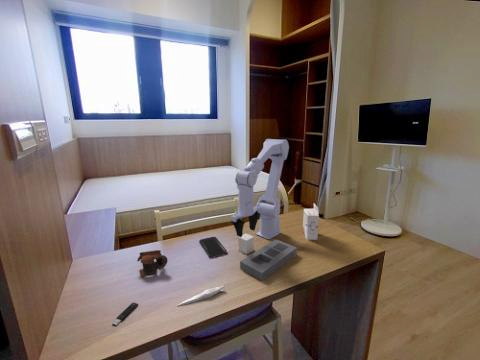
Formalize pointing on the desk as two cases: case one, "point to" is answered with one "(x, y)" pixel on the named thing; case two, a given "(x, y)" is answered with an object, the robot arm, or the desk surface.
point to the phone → (212, 247)
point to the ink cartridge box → (311, 223)
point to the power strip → (268, 259)
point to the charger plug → (246, 243)
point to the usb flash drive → (125, 313)
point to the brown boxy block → (151, 262)
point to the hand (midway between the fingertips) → (246, 232)
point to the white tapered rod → (203, 295)
